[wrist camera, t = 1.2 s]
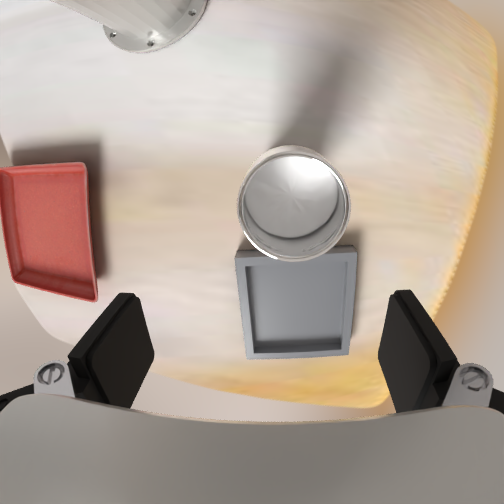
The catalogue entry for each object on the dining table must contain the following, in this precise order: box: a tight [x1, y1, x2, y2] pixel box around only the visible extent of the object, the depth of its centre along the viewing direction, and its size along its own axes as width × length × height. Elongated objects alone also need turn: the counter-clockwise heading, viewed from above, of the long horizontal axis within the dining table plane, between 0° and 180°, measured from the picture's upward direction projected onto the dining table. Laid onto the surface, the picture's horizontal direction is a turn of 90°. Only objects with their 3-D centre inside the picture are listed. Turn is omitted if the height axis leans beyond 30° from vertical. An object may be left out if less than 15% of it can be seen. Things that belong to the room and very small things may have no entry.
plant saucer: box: [0, 162, 98, 302], centre depth 34 cm, size 18×18×3 cm
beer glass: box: [237, 145, 351, 262], centre depth 24 cm, size 7×7×15 cm
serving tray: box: [235, 245, 357, 359], centre depth 35 cm, size 14×13×2 cm
